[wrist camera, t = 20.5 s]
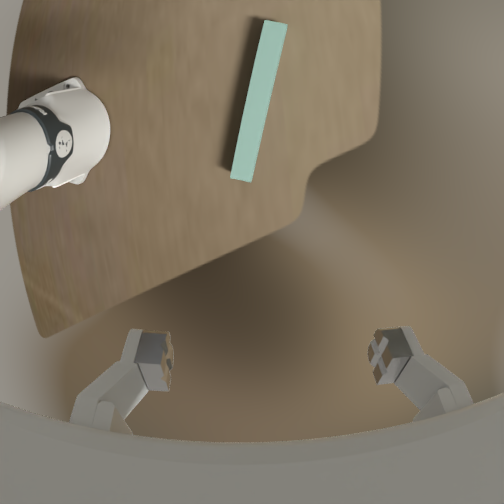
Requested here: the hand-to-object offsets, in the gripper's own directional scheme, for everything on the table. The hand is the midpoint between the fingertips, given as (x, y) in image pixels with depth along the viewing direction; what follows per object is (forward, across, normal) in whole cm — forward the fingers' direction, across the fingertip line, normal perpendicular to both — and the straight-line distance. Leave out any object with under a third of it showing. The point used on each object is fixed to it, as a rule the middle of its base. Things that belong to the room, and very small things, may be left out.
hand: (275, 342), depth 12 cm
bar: (+38, -1, -4) cm, 38 cm away
